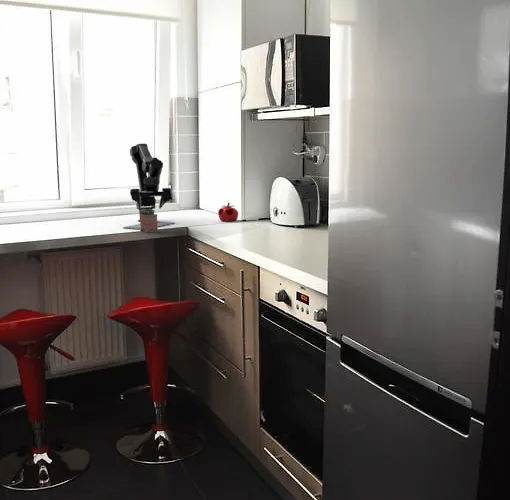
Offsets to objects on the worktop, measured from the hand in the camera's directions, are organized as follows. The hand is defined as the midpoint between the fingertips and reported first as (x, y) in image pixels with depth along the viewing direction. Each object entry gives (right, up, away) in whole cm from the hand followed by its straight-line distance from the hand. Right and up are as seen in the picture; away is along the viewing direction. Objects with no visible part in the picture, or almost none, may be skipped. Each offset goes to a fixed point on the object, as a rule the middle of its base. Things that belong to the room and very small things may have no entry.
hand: (149, 208), depth 270 cm
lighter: (0, -10, -1) cm, 11 cm away
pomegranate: (+35, -4, +28) cm, 45 cm away
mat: (-3, -7, +15) cm, 17 cm away
